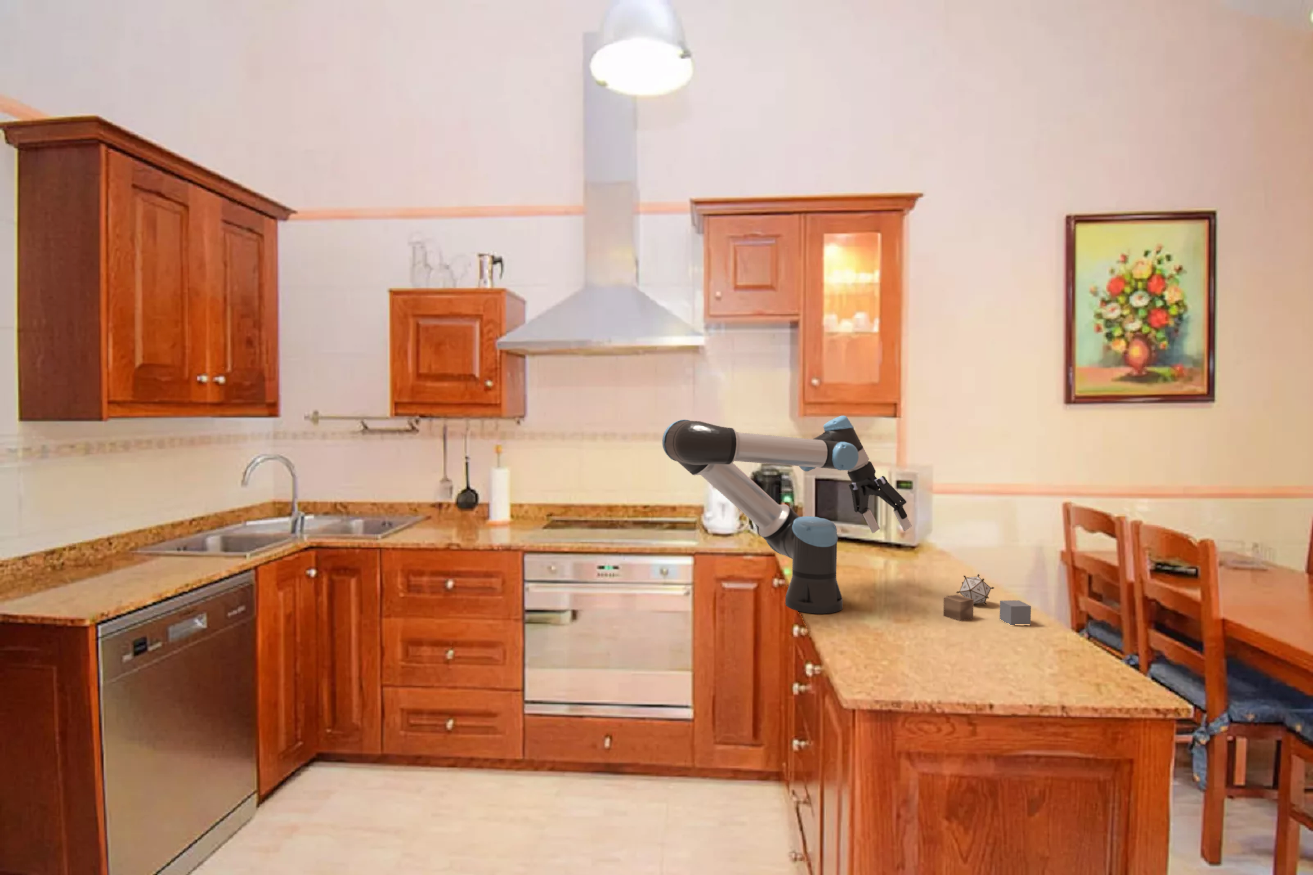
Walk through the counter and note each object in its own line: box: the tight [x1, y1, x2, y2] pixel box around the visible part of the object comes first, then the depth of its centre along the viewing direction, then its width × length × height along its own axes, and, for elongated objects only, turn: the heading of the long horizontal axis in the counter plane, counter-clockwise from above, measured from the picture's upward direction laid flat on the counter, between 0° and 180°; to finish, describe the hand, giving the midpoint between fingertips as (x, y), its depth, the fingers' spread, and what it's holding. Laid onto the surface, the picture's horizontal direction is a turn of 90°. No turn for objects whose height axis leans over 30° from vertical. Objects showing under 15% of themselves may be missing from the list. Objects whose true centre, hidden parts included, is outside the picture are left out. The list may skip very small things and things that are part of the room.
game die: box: [955, 573, 995, 606], centre depth 186 cm, size 9×8×10 cm
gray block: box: [999, 599, 1032, 626], centre depth 170 cm, size 5×5×5 cm
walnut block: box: [942, 594, 974, 622], centre depth 175 cm, size 5×5×5 cm
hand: (891, 529), depth 200 cm, fingers open, 13 cm apart
